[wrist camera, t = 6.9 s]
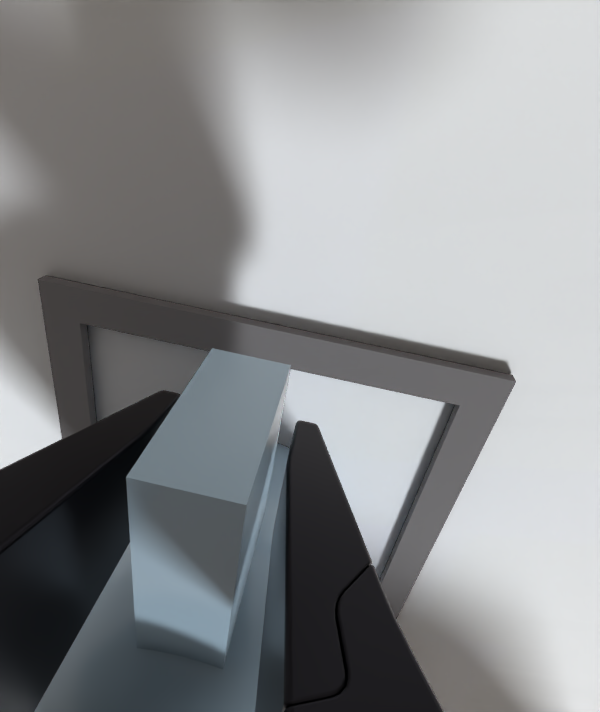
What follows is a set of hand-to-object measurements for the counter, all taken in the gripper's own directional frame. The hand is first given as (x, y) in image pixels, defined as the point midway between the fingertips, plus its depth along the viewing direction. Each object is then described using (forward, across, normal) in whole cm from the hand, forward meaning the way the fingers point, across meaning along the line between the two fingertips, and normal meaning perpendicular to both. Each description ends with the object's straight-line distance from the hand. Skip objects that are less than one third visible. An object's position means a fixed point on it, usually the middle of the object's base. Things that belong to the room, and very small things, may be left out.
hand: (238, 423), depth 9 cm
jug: (+3, 0, +4) cm, 5 cm away
